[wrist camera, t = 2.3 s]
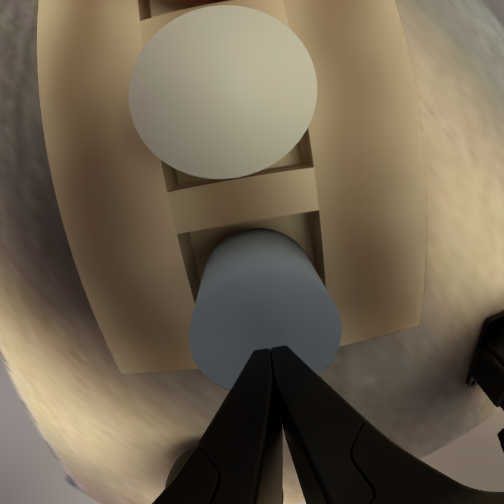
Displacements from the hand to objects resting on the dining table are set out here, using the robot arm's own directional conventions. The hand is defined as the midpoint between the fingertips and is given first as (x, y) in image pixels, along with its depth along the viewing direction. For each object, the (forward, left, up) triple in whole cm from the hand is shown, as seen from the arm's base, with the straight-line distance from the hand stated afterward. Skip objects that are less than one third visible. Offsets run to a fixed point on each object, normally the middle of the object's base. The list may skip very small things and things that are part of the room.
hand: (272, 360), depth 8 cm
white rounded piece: (0, -7, -5) cm, 8 cm away
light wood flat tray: (0, -7, -7) cm, 10 cm away
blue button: (0, 0, -5) cm, 5 cm away
